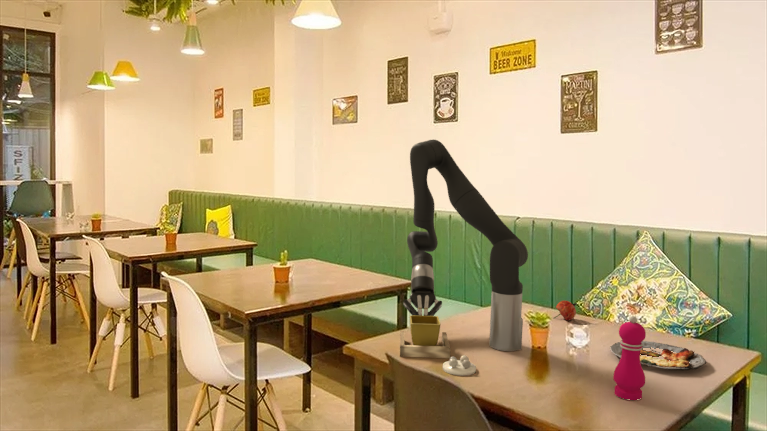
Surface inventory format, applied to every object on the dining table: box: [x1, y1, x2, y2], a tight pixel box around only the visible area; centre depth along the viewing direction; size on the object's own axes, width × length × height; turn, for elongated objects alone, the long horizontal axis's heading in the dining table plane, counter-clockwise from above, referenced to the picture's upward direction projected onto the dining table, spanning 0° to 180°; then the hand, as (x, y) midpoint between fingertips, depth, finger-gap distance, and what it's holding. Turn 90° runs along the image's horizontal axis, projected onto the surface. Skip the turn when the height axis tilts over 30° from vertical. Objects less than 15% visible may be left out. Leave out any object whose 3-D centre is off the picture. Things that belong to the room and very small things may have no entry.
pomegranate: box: [553, 299, 578, 321], centre depth 209 cm, size 7×7×10 cm
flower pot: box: [409, 315, 441, 346], centre depth 172 cm, size 9×9×9 cm
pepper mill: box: [612, 315, 647, 401], centre depth 140 cm, size 7×7×20 cm
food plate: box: [609, 340, 707, 371], centre depth 168 cm, size 25×23×4 cm
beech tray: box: [399, 330, 451, 359], centre depth 173 cm, size 14×15×3 cm
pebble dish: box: [442, 354, 477, 377], centre depth 156 cm, size 9×9×3 cm
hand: (422, 327), depth 179 cm, fingers closed
